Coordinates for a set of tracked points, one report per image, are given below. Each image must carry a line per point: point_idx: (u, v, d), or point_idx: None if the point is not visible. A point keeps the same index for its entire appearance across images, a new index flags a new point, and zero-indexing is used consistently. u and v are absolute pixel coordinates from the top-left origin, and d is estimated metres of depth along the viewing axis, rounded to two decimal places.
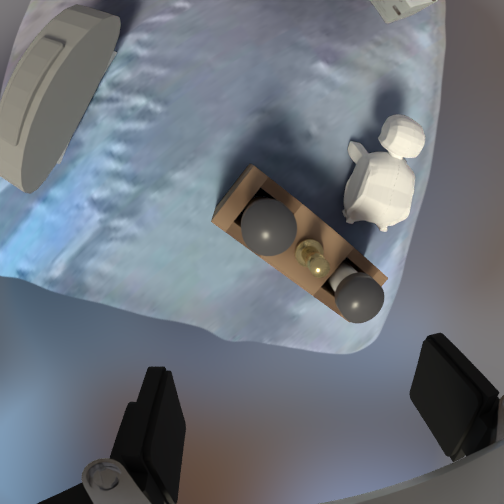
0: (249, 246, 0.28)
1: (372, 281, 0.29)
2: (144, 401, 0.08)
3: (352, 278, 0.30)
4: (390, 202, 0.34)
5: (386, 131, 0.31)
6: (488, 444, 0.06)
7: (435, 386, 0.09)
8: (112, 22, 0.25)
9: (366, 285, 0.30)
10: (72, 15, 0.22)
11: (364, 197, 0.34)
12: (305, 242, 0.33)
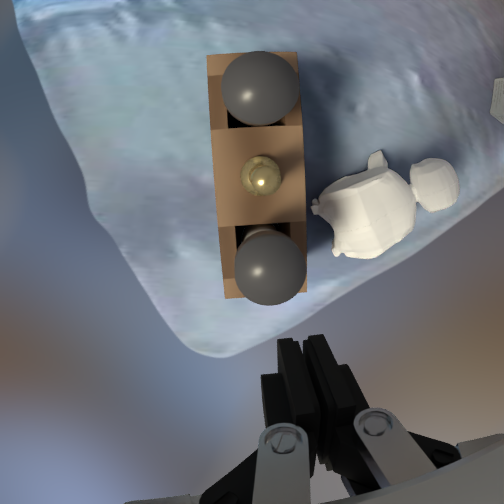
0: (223, 81, 0.17)
1: (303, 259, 0.21)
2: (292, 367, 0.09)
3: (283, 236, 0.21)
4: (374, 223, 0.27)
5: (427, 162, 0.26)
6: (364, 468, 0.07)
7: None
8: None
9: (293, 256, 0.21)
10: None
11: (355, 192, 0.27)
12: (268, 160, 0.23)
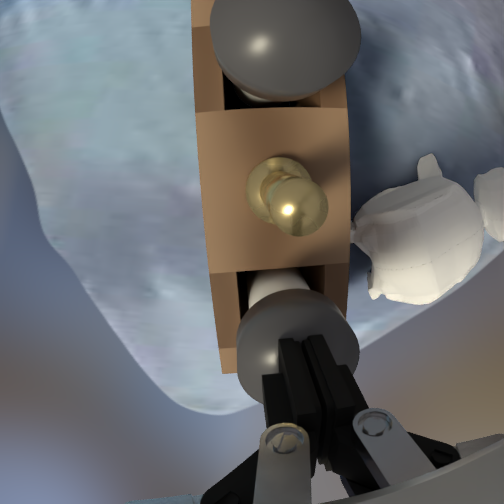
0: (214, 13, 0.08)
1: (355, 342, 0.11)
2: (293, 367, 0.09)
3: (323, 302, 0.12)
4: (435, 260, 0.18)
5: (501, 174, 0.16)
6: (363, 468, 0.07)
7: None
8: None
9: (339, 340, 0.11)
10: None
11: (412, 215, 0.17)
12: (293, 164, 0.14)
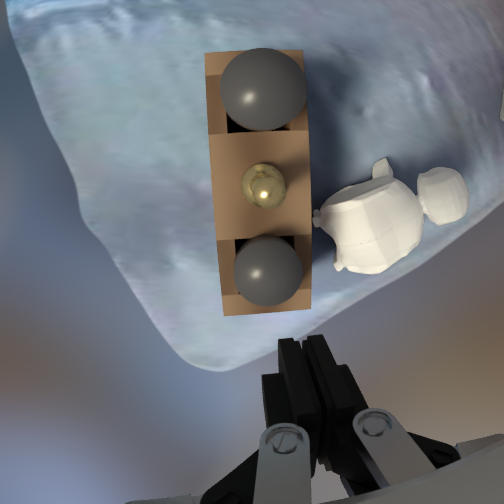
0: (222, 81, 0.15)
1: (299, 262, 0.22)
2: (293, 367, 0.09)
3: (281, 240, 0.23)
4: (379, 237, 0.25)
5: (436, 172, 0.24)
6: (364, 468, 0.07)
7: None
8: None
9: (290, 260, 0.22)
10: None
11: (359, 205, 0.25)
12: (271, 168, 0.21)
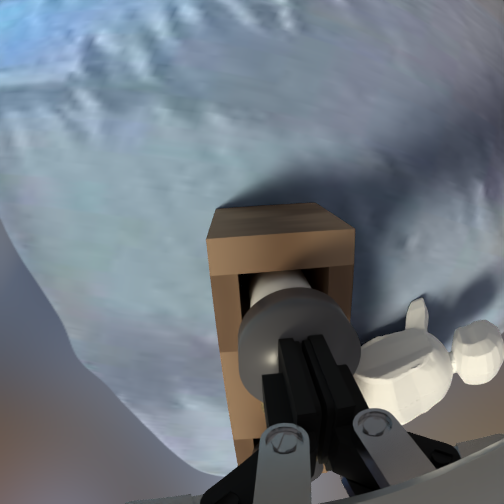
0: (242, 361, 0.11)
1: None
2: (293, 367, 0.09)
3: None
4: (403, 409, 0.21)
5: (478, 338, 0.19)
6: (363, 468, 0.07)
7: None
8: None
9: None
10: None
11: (389, 383, 0.21)
12: None
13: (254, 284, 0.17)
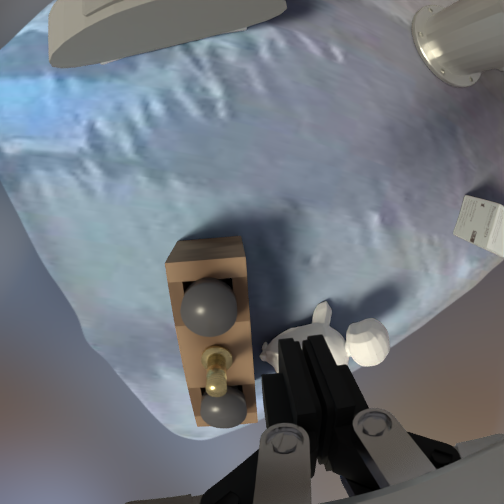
0: (181, 309, 0.26)
1: (244, 406, 0.30)
2: (293, 367, 0.09)
3: (231, 391, 0.30)
4: None
5: (361, 330, 0.32)
6: (363, 468, 0.07)
7: None
8: (277, 6, 0.22)
9: (237, 405, 0.30)
10: None
11: None
12: (222, 350, 0.29)
13: None
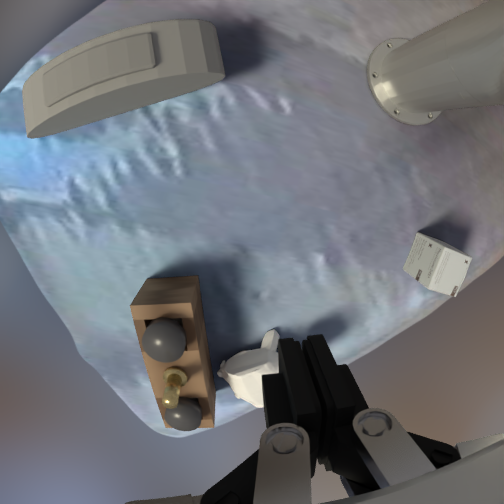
0: (142, 342, 0.32)
1: (198, 415, 0.36)
2: (293, 367, 0.09)
3: (188, 402, 0.37)
4: (253, 395, 0.40)
5: None
6: (363, 468, 0.07)
7: None
8: (214, 76, 0.28)
9: (192, 414, 0.36)
10: (193, 36, 0.24)
11: (239, 378, 0.39)
12: (178, 371, 0.35)
13: None
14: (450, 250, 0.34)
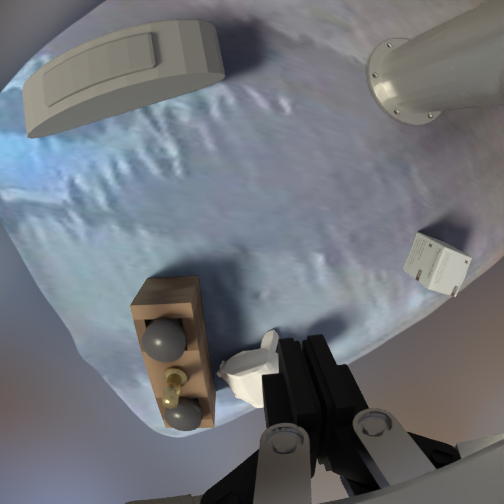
0: (142, 342, 0.32)
1: (198, 415, 0.36)
2: (293, 367, 0.09)
3: (188, 402, 0.37)
4: (252, 395, 0.40)
5: None
6: (363, 468, 0.07)
7: None
8: (214, 76, 0.28)
9: (192, 414, 0.36)
10: (193, 36, 0.24)
11: (239, 378, 0.39)
12: (178, 371, 0.35)
13: None
14: (450, 250, 0.34)
